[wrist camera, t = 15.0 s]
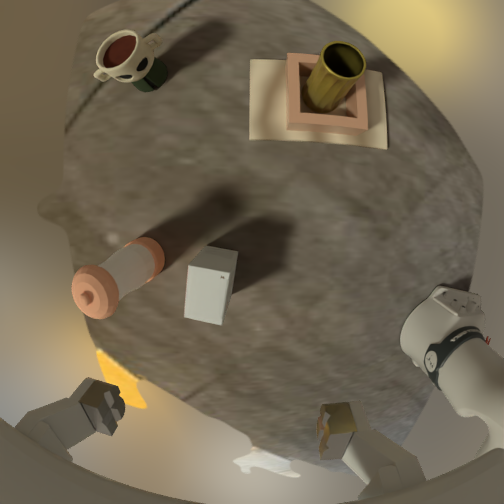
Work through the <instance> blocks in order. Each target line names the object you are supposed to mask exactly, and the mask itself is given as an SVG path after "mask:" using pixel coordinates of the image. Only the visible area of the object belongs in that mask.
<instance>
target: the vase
mask: <svg viewBox="0 0 504 504" xmlns="http://www.w3.org/2000/svg"><path fill="white" fill-rule="evenodd" d="M365 69H366V60H365V57H364V56H363V54H362V53H361V51H360V50H359V49H358V48H357V47H355V46H354V45H352V44H350V43H347V42H343V41H333V42H330V43H328V44H326V45H325V46H324V47H323V49H322V51H321V54H320V56H319V59H318V61H317V63H316V65H315V67H314V68H313V70H312V72H311V75H310V77H309V78H308V80H307V81H306V83H305V85H304V86H303V89H302V98H303V101H304V103H305V104H306V105H307V106H308V107H309V108H310V109H311V110H313V111H315V112H318V113H329V112H331V111H333V110H335V109H336V108H337V107H338V105H339V103H340V102H341V101H342V99H343V98H344V97H345V95H346V94H347V93H348V92H349V90H350V89H351V88H352V87H353V85H354V84H355V83H356V82H357V80H358V79H359V78H360V77H361V76H362V75H363V74H364V71H365Z"/></svg>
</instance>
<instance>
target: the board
mask: <svg viewBox="0 0 504 504" xmlns="http://www.w3.org/2000/svg"><path fill="white" fill-rule="evenodd" d="M285 66H286V60H267V59H257V60H250V140H275V141H302V142H318V143H331V144H342V145H352V146H360V147H368V148H376V149H383V150H386V149H387V125H386V109H385V97H384V87H383V78H382V73H381V72H377V71H372V70H367V69H365V71H364V77H365V87H366V99H367V115H368V130H367V131H365V132H363V133H361V134H359V135H357V136H353V135H344V134H334V133H323V132H309V131H290V130H286V76H285ZM308 78H309V77H305V76H299V84H300V113H313V114H325V115H335V116H344V117H347V116H346V96H345V97H344V98H343V99H342V101H341V102H340V103H339V105H338V107H337V108H336V109H335V110H333V111H331V112H329V113H318V112H315V111H313V110H311V109H310V108H309V107H308V106H307V105H306V104H305V103H304V101H303V98H302V89H303V86H304V85H305V83H306V81H307V80H308Z"/></svg>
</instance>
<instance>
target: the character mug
mask: <svg viewBox="0 0 504 504" xmlns="http://www.w3.org/2000/svg"><path fill="white" fill-rule="evenodd" d="M152 40H154V41H155V42H154V43H152V44H151V45H149V44H148V42H150V41H152ZM161 44H162V39H161V38H160V37H159V36H158V35H157V34H155V33H153V34H150V35H149V36H147V37H145V38H144V39H143V38H142V37H141V36H140V35H139V34H138V33H137V32H136V31H134V30H130V29H125V30H120V31H118V32H116V33H114V34H112V35H111V36H109V37H108V38H107V39H106V40H105V41H104V42H103V44H102V45H101V46H100V48H99V50H98V53H97V56H96V64H97V66H98V67H99V68H100V69H98V70H97V71H96V72H95V73H94V77H95V78H97V79H99V80H101V81H104V82H105V81H107V80H108V79H109V78H111V77H113V78H115V79H117V80H118V81H120V82H125V83H126V82H132V84H133V85H134V86H135V87H136V88H137V89H138V90H140V91H143V92H150V91H153V90H154V89H153V88H152V86H154V85H156V86H158V87H160V86H161V85H162V84H163V82H164V81H165V80H166V76H167V68H166V66H165V65H164V64H163V63H162V62H161V61H160V60H158V59H157V58H155V57H154V50H153V49H155V48H157V47H158V46H160V45H161ZM104 72H105V73H107V74H106V75H103V74H102V73H104Z"/></svg>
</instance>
